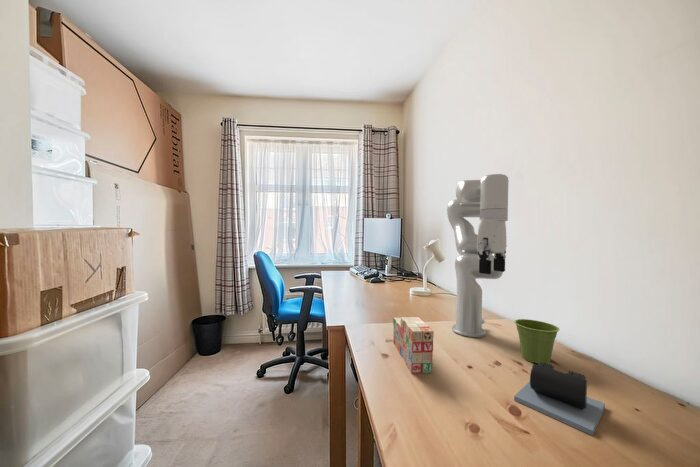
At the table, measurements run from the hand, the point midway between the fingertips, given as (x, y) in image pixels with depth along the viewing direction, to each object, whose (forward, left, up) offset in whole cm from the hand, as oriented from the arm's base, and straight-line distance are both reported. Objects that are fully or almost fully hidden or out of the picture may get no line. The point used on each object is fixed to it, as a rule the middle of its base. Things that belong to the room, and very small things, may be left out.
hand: (492, 272), depth 80 cm
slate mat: (+6, +18, -28) cm, 34 cm away
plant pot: (-16, +7, -28) cm, 33 cm away
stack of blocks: (+15, -19, -29) cm, 37 cm away
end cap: (+6, +18, -28) cm, 33 cm away
